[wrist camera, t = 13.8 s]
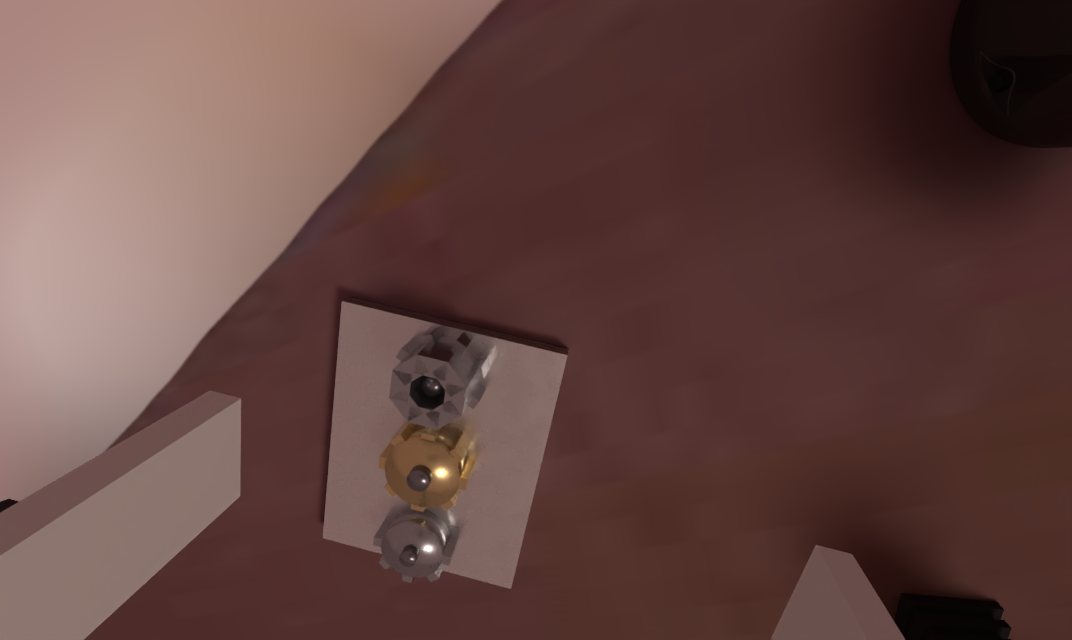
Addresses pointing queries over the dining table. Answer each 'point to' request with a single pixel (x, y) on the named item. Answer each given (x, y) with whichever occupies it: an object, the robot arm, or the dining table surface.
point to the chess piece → (950, 619)
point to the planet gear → (448, 366)
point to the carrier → (436, 450)
